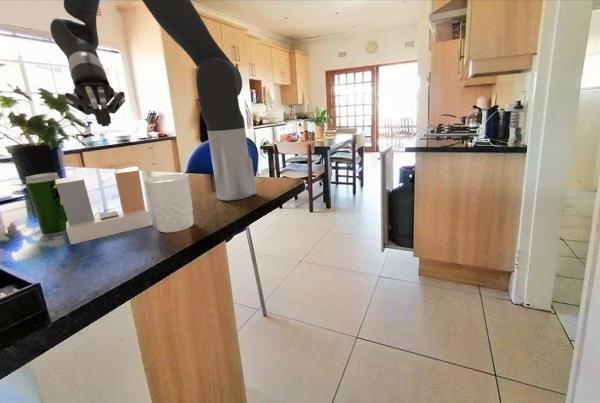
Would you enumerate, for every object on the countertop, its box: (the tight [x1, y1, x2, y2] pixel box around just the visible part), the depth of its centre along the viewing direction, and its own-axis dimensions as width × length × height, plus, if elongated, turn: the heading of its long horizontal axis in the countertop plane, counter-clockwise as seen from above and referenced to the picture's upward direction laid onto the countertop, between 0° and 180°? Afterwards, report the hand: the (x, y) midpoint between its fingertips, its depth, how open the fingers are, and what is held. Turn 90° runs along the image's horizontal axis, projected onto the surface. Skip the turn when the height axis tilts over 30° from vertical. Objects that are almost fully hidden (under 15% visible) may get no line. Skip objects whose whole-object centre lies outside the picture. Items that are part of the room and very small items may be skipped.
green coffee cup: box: [25, 172, 68, 238], centre depth 63 cm, size 5×5×12 cm
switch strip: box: [66, 206, 153, 245], centre depth 63 cm, size 14×6×3 cm, turn 125°
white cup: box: [143, 172, 195, 233], centre depth 61 cm, size 8×8×10 cm
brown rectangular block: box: [113, 166, 146, 213], centre depth 62 cm, size 4×2×9 cm, turn 125°
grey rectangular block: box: [55, 175, 95, 225], centre depth 57 cm, size 4×2×9 cm, turn 125°
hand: (105, 123), depth 73 cm, fingers closed
